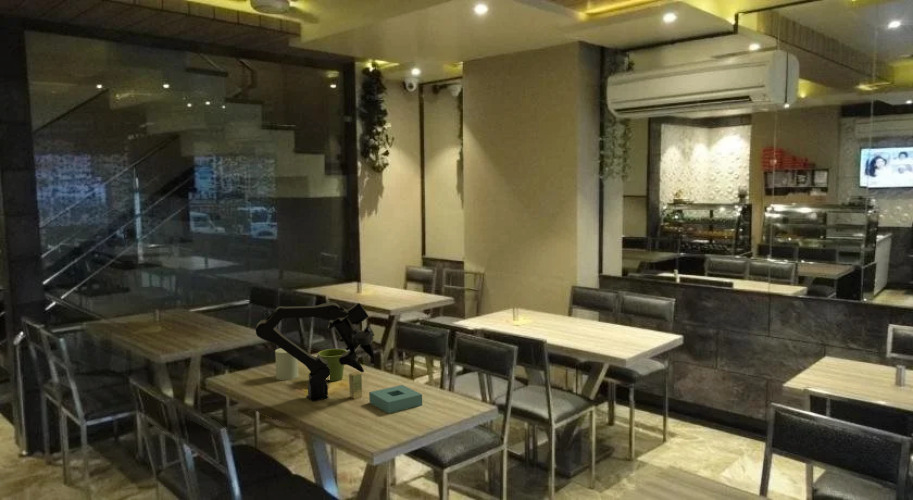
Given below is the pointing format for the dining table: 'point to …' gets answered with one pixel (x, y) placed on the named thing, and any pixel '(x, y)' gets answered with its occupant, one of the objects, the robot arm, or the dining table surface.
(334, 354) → the plant pot
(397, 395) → the socket block
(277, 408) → the dining table surface
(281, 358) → the can
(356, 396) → the peg
